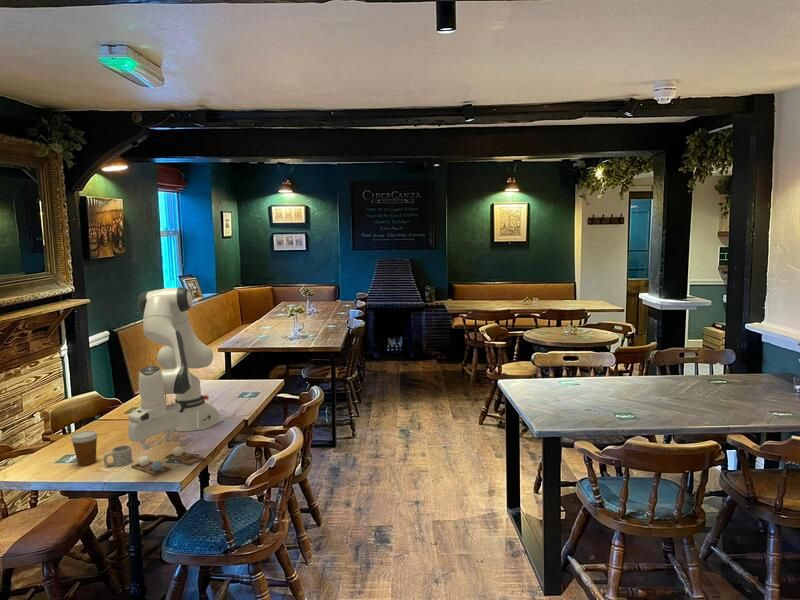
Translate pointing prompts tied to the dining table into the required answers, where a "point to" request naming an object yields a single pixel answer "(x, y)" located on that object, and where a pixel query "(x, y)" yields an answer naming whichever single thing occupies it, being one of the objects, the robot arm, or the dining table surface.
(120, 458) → the mug
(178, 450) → the ivory ball
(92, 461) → the disposable coffee cup
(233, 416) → the dining table surface
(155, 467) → the ball blue
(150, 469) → the tray
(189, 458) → the rack
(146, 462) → the ivory ball
